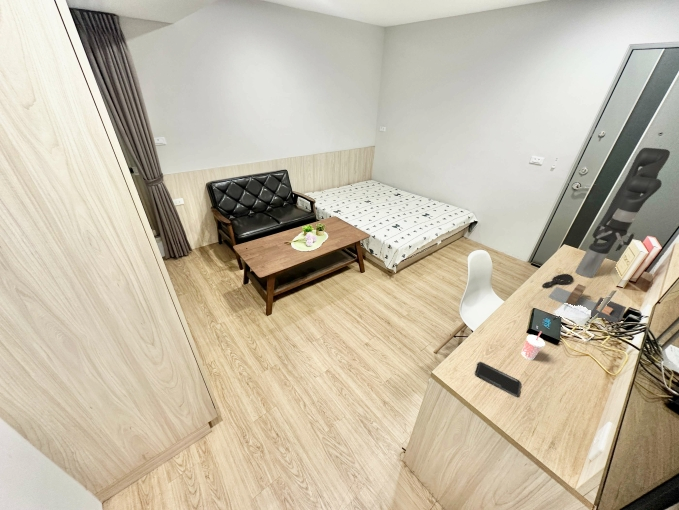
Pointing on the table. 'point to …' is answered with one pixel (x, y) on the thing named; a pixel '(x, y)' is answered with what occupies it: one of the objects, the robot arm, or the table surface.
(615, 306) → the tray
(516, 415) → the table surface
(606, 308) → the tile
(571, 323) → the phone case
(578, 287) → the brown wooden block
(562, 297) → the board
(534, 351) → the beverage cup
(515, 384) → the phone
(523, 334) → the table surface
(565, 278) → the hairbrush
